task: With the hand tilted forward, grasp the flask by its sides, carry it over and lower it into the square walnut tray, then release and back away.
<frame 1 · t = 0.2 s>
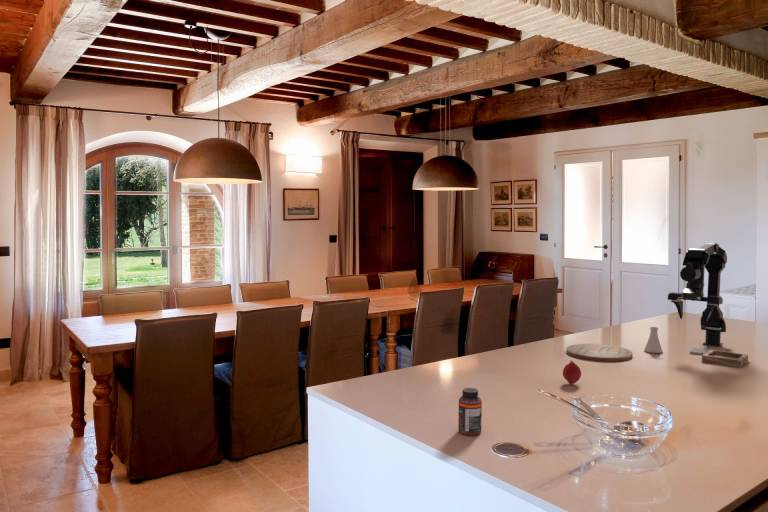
hand: (693, 320, 246), 14 cm above the counter, tool pointing down, fingers open, 9 cm apart
trivet: (598, 355, 251), on the counter
onion: (571, 384, 208), on the counter
slate coaster: (703, 352, 253), on the counter
tray: (724, 361, 239), on the counter
flask: (653, 352, 255), on the counter
supplement bottle: (469, 433, 163), on the counter
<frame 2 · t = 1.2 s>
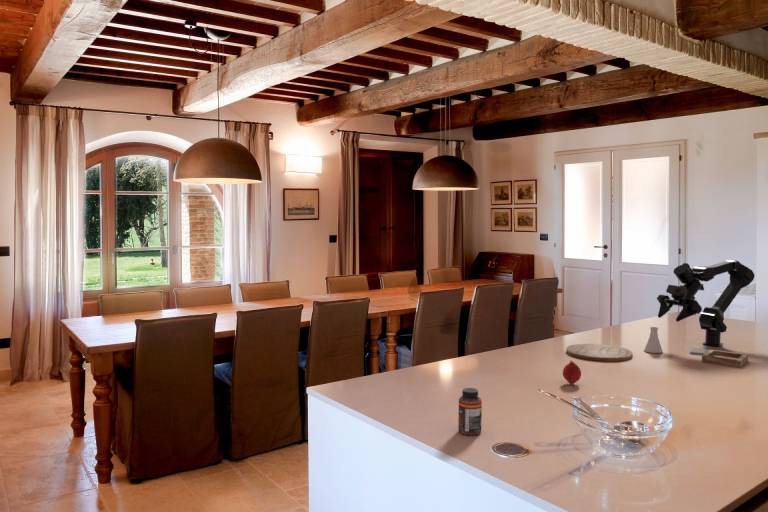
hand: (667, 319, 257), 13 cm above the counter, tool tilted 45°, fingers open, 9 cm apart
nothing on the counter moved.
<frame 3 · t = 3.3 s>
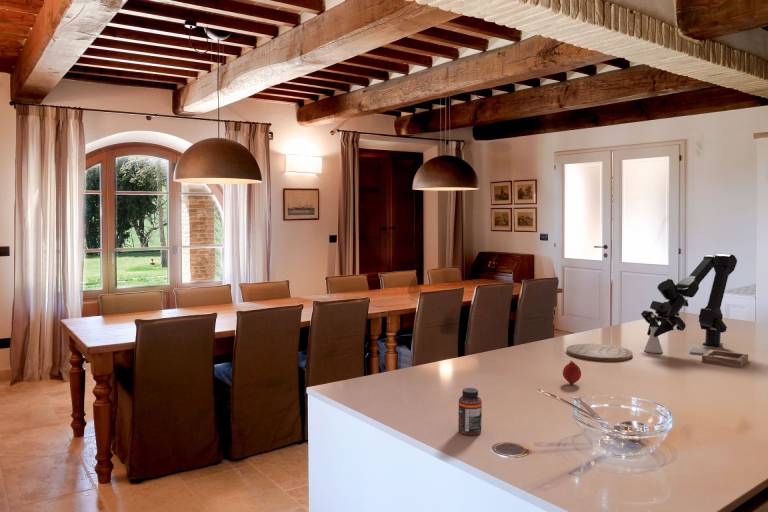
hand: (651, 335, 254), 7 cm above the counter, tool tilted 45°, fingers closed on flask, 3 cm apart
flask: (653, 352, 255), on the counter, touching gripper
everything else where it was.
when the fingers open (9 cm above the counter, at t = 6.7 s): flask stays where it is, resting on tray.
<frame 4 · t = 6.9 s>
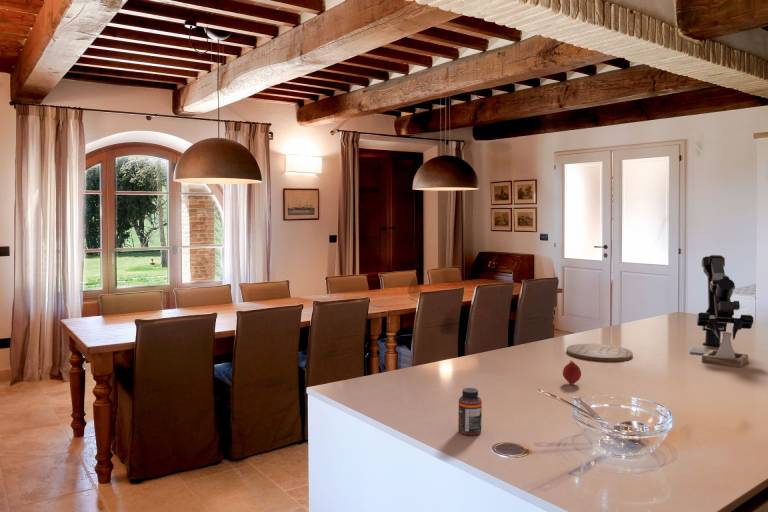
hand: (726, 338, 237), 9 cm above the counter, tool tilted 45°, fingers open, 5 cm apart
flask: (725, 359, 239), point 1 cm above the counter, touching tray
everything else where it was.
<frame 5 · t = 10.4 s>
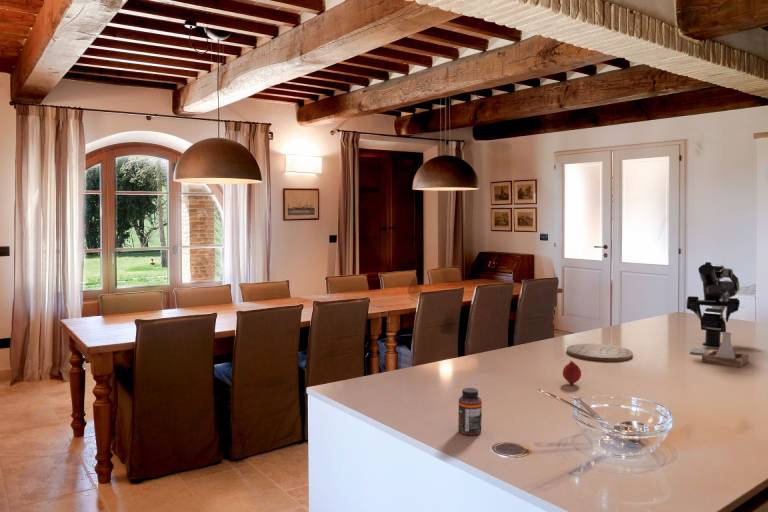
hand: (714, 320, 250), 14 cm above the counter, tool tilted 45°, fingers open, 9 cm apart
nothing on the counter moved.
at the end: flask inside the target area on the tray (0.3 cm from its centre), point 0.8 cm above the tray's base; flask tilted 0°; the gripper is holding nothing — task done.
